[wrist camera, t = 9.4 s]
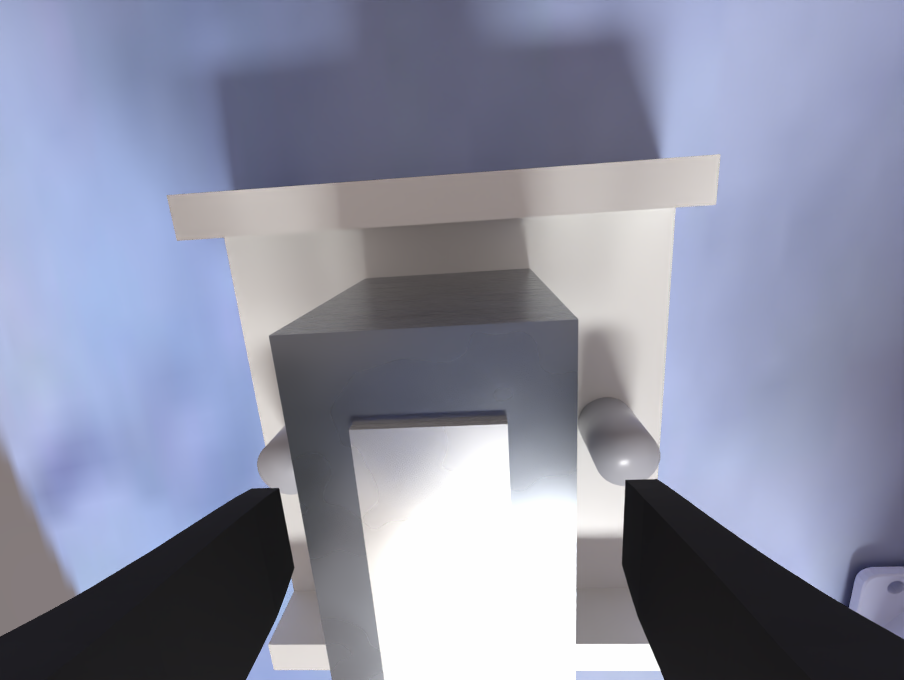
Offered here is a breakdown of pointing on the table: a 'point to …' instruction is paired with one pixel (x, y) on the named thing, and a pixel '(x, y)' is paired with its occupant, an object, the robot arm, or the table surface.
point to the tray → (471, 250)
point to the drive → (438, 474)
